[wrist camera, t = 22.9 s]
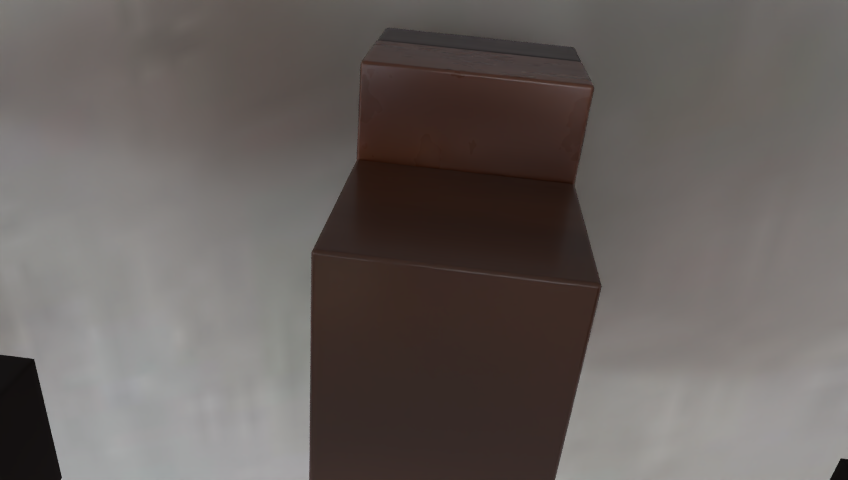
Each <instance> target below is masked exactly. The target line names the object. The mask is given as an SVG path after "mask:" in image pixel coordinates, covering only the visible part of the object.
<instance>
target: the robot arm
mask: <svg viewBox="0 0 848 480" xmlns="http://www.w3.org/2000/svg"><path fill="white" fill-rule="evenodd" d="M61 478H62V476H61V472H60V468H59V463H58V459H57V455H56V451H55V446H54V442H53V438H52V434H51V429H50V425H49V421H48V417H47V412H46V408H45V404H44V399H43V395H42V391H41V387H40V382H39V378H38V374H37V370H36V365H35V361H34V359H30V358H22V357H14V356H6V355H0V480H61ZM830 480H848V459H840V461H839V463H838V465H837V467H836V469H835V471H834V473H833V475H832V477H831V479H830Z"/></svg>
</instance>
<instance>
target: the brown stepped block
mask: <svg viewBox="0 0 848 480" xmlns="http://www.w3.org/2000/svg"><path fill="white" fill-rule="evenodd" d="M593 92H594V86H593V84H592V82H591V80H590V78H589V76H588V73H587V71H586V69H585V67H584V65H583V63H581V60H580V58H579V56H578V54H577V52H576V50H575V48H573V47H567V46H557V45H548V44H538V43H529V42H519V41H510V40H500V39H491V38H481V37H472V36H462V35H453V34H443V33H433V32H424V31H414V30H405V29H395V28H387V29H385V31H384V32H383V33H382V35H381V36H380V38H379V39H378V40H377V41H376V42H375V44H374V45H373V46H372V48H371V49H370V51H369V52H368V53H367V55H366V56H365V57H364V59H363V60H362V62H361V67H360V91H359V115H358V139H357V161H356V163H355V165H354V167H353V169H352V171H351V173H350V175H349V177H348V179H347V181H346V183H345V185H344V187H343V189H342V191H341V193H340V195H339V197H338V199H337V202H336V204H335V206H334V208H333V210H332V212H331V214H330V216H329V218H328V220H327V222H326V224H325V226H324V228H323V230H322V232H321V234H320V236H319V238H318V240H317V242H316V244H315V246H314V248H313V250H312V252H311V356H310V465H309V480H555V478H556V474H557V469H558V465H559V461H560V457H561V453H562V449H563V445H564V440H565V436H566V432H567V428H568V424H569V420H570V416H571V412H572V407H573V403H574V399H575V395H576V391H577V387H578V383H579V378H580V374H581V370H582V366H583V362H584V358H585V354H586V350H587V345H588V341H589V337H590V333H591V329H592V325H593V321H594V316H595V312H596V308H597V304H598V300H599V296H600V292H601V288H602V286H601V282H600V278H599V275H598V271H597V267H596V263H595V260H594V256H593V252H592V249H591V245H590V241H589V237H588V234H587V230H586V226H585V222H584V219H583V215H582V211H581V208H580V204H579V200H578V196H577V193H576V189H575V180H576V175H577V170H578V165H579V160H580V155H581V151H582V146H583V141H584V136H585V131H586V126H587V121H588V116H589V111H590V106H591V101H592V96H593Z"/></svg>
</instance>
